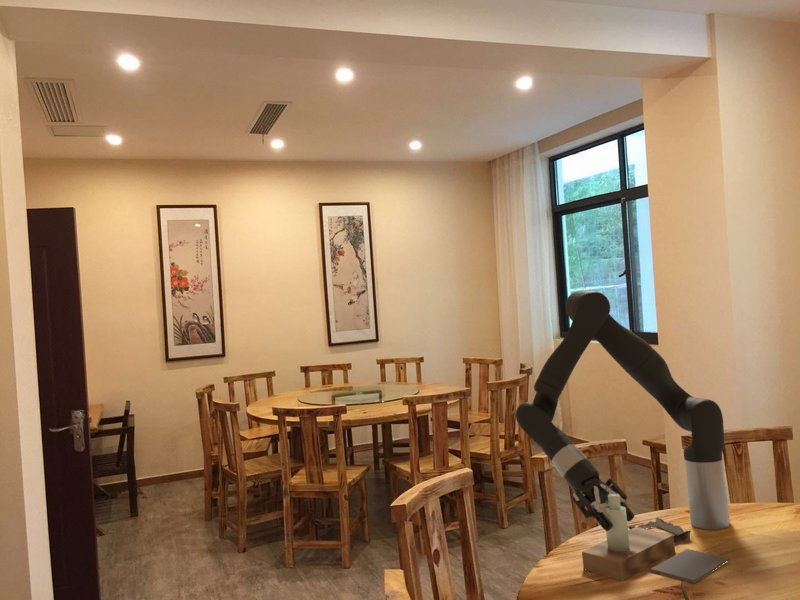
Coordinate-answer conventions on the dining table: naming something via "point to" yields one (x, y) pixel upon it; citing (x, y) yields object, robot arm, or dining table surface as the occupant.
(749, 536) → the dining table surface
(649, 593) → the dining table surface
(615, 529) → the celadon bottle
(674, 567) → the charcoal mat
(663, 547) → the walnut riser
